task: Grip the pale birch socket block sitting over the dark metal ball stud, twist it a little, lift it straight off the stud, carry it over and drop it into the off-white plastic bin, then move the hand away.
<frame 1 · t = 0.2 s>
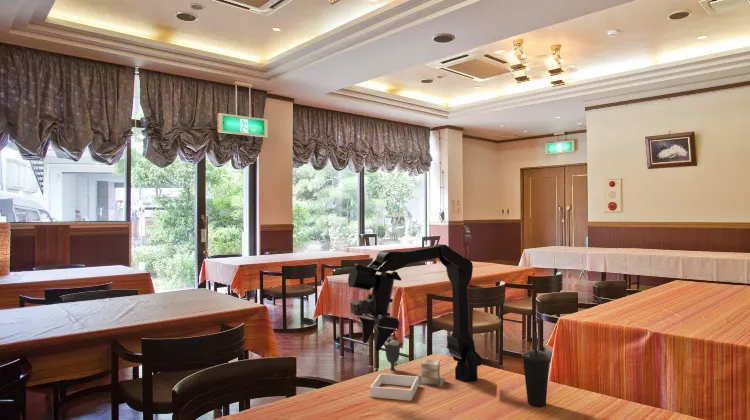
hand: (370, 346, 138), 15 cm above the table, tool pointing down, fingers open, 9 cm apart
socket block: (430, 381, 149), point 1 cm above the table, touching stud plate
stud plate: (430, 385, 149), on the table
drinking cup: (536, 404, 133), on the table
bin: (395, 395, 141), on the table
sundae: (392, 374, 161), on the table
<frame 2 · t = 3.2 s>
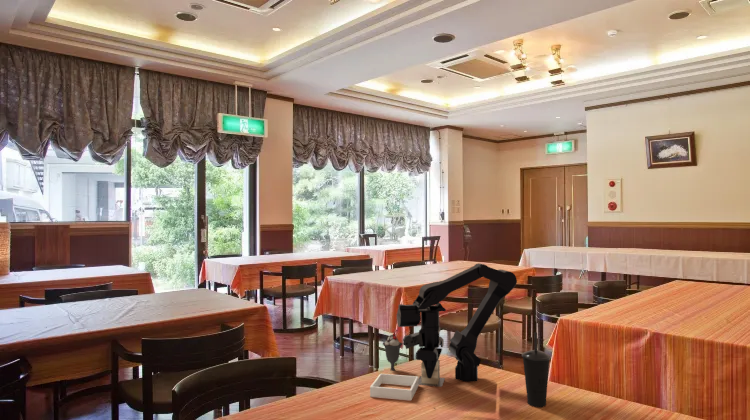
hand: (430, 375, 149), 3 cm above the table, tool pointing down, fingers closed on socket block, 5 cm apart
socket block: (430, 381, 149), point 1 cm above the table, touching gripper, stud plate
everything else where it was.
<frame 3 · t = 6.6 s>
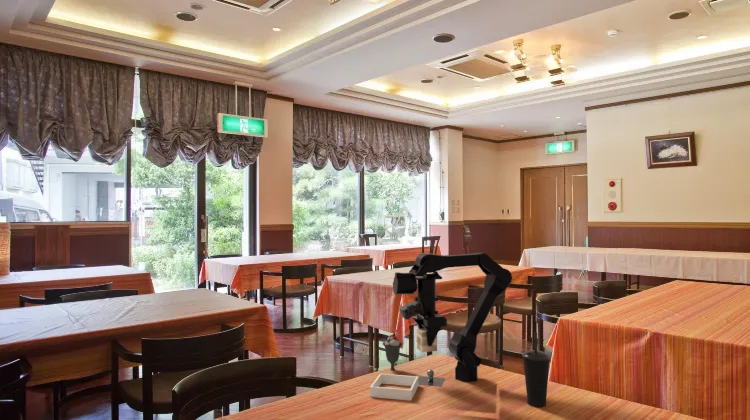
hand: (426, 343, 149), 13 cm above the table, tool pointing down, fingers closed on socket block, 5 cm apart
socket block: (426, 349, 149), point 11 cm above the table, touching gripper
everything else where it was.
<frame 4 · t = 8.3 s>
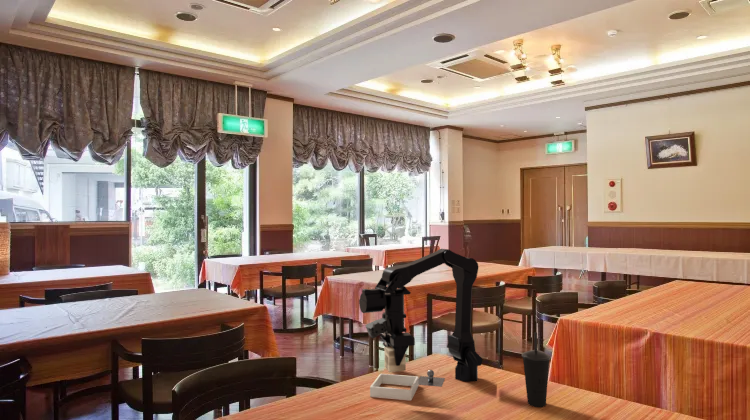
hand: (395, 362, 141), 10 cm above the table, tool pointing down, fingers closed on socket block, 5 cm apart
socket block: (395, 368, 141), point 8 cm above the table, touching gripper
everything else where it was.
when the fingers open (4 cm above the table, at t = 10.0 s): socket block drops 2 cm, resting on bin.
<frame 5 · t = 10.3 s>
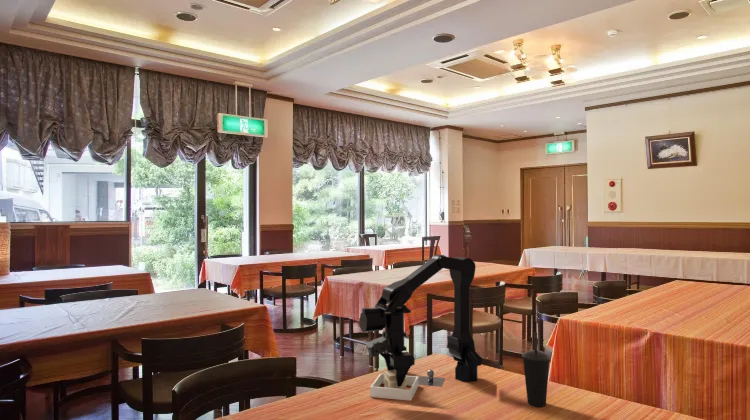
hand: (395, 381, 141), 4 cm above the table, tool pointing down, fingers open, 8 cm apart
socket block: (395, 393, 141), point 1 cm above the table, touching bin
everything else where it was.
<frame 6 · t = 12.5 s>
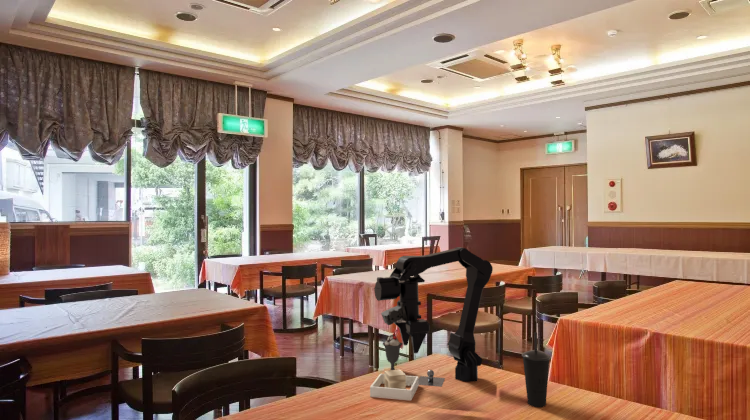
hand: (410, 349, 144), 13 cm above the table, tool pointing down, fingers open, 9 cm apart
nothing on the table moved.
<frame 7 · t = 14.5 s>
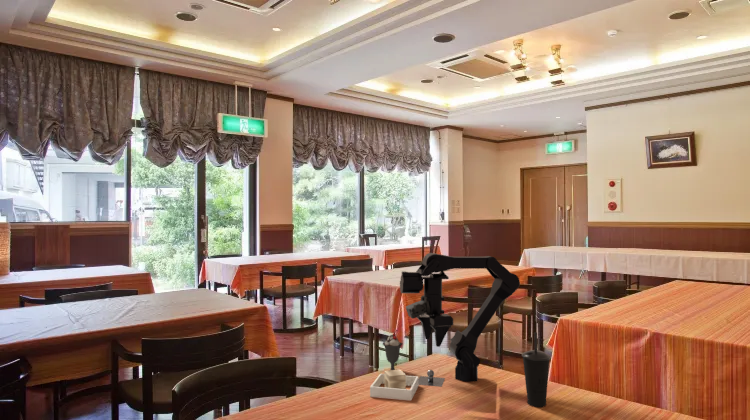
hand: (432, 342, 150), 13 cm above the table, tool pointing down, fingers open, 9 cm apart
nothing on the table moved.
at the end: socket block inside the target area on the bin (0.0 cm from its centre), point 0.6 cm above the bin's base; socket block tilted 0°; the gripper is holding nothing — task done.
